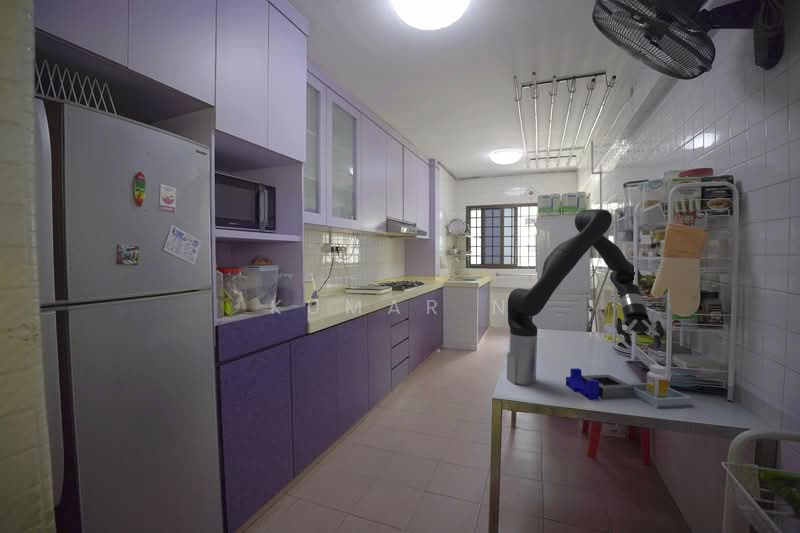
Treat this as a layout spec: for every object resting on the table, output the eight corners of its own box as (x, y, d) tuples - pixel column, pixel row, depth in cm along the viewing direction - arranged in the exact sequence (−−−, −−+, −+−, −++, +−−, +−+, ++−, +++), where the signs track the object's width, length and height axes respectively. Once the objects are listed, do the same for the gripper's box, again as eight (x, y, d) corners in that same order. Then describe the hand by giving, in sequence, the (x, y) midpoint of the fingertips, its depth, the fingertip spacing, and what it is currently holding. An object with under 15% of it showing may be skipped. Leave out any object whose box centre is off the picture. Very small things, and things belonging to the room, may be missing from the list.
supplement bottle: (667, 396, 109) (669, 366, 108) (666, 401, 105) (667, 370, 104) (647, 391, 112) (648, 362, 112) (645, 396, 108) (646, 366, 108)
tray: (656, 408, 101) (657, 399, 101) (625, 391, 113) (625, 384, 113) (691, 406, 103) (692, 397, 103) (656, 390, 115) (657, 382, 115)
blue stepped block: (565, 385, 119) (566, 368, 119) (578, 385, 119) (579, 368, 119) (584, 399, 107) (584, 381, 107) (598, 400, 107) (599, 381, 107)
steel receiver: (602, 399, 107) (602, 388, 107) (579, 385, 118) (580, 375, 118) (633, 397, 109) (633, 386, 109) (608, 384, 120) (608, 374, 120)
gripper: (615, 301, 129) (623, 337, 118) (659, 303, 125) (672, 342, 114) (610, 312, 134) (617, 348, 123) (652, 315, 130) (664, 353, 119)
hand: (643, 345), depth 119 cm, fingers open, 8 cm apart
